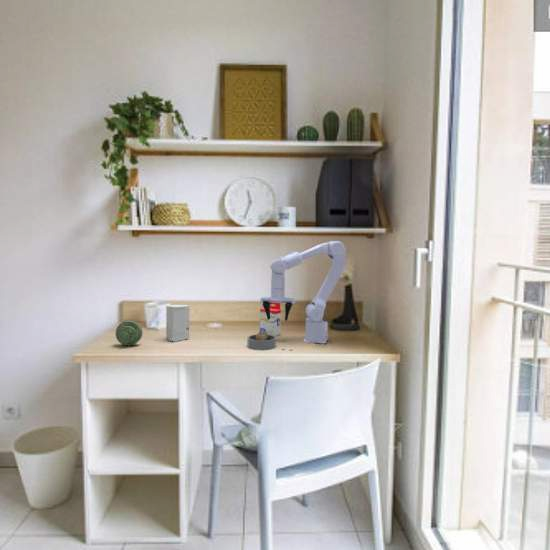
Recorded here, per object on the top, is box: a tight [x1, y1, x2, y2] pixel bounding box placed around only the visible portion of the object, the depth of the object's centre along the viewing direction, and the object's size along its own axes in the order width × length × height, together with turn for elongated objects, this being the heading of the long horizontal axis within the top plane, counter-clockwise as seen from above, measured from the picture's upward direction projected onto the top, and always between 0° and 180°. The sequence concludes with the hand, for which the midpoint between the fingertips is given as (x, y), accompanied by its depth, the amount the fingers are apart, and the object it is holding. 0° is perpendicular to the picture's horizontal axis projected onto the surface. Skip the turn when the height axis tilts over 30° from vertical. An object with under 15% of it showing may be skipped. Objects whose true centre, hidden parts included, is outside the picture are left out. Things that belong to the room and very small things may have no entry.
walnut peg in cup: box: [255, 333, 265, 341], centre depth 164 cm, size 4×4×5 cm
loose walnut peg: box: [258, 331, 267, 340], centre depth 169 cm, size 4×4×5 cm
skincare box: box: [165, 304, 190, 343], centre depth 177 cm, size 8×6×15 cm
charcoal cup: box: [246, 333, 277, 351], centre depth 167 cm, size 11×11×4 cm
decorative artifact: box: [115, 319, 143, 346], centre depth 165 cm, size 10×7×10 cm
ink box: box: [259, 302, 282, 337], centre depth 189 cm, size 8×5×15 cm, turn 62°
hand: (277, 319), depth 176 cm, fingers open, 7 cm apart
